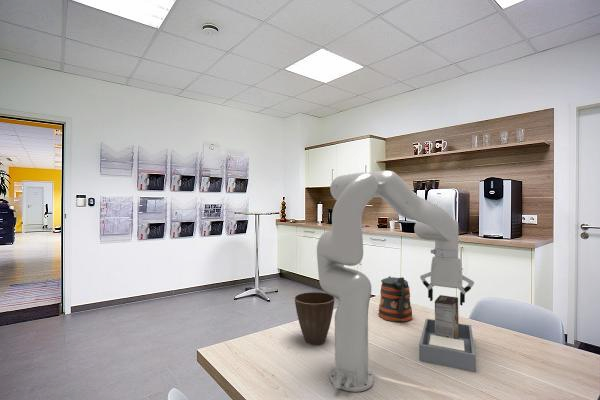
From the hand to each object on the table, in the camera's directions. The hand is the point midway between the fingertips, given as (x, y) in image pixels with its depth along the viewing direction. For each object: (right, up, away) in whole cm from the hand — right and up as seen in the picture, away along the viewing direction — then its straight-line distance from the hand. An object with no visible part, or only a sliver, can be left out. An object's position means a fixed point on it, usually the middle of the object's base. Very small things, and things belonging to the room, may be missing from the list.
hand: (446, 302), depth 110 cm
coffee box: (0, -15, 0) cm, 15 cm away
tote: (-1, -16, -4) cm, 16 cm away
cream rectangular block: (-4, -15, -10) cm, 18 cm away
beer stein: (-8, -17, +28) cm, 34 cm away
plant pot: (-46, -16, +5) cm, 50 cm away
